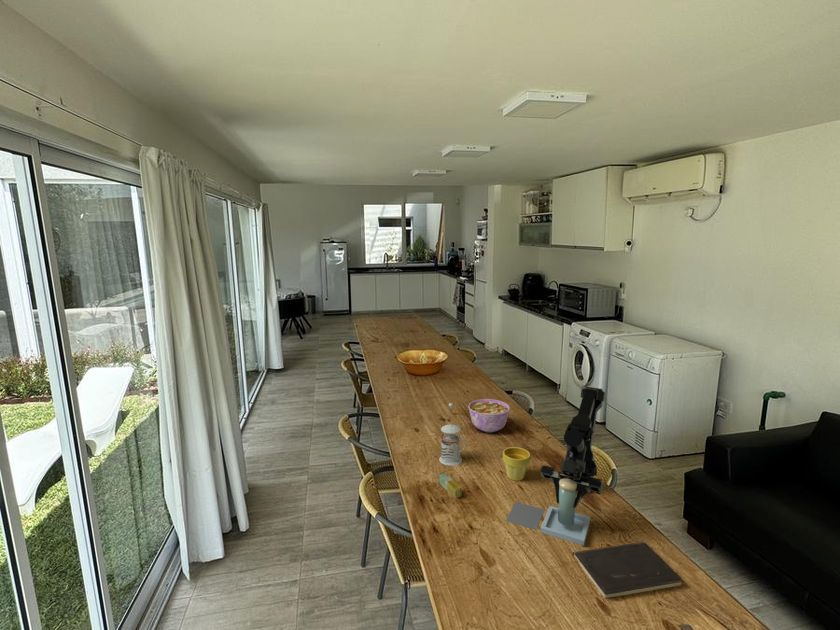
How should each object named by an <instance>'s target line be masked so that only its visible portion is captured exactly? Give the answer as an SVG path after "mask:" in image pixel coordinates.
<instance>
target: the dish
mask: <svg viewBox="0 0 840 630" xmlns="http://www.w3.org/2000/svg"><path fill="white" fill-rule="evenodd" d="M590 523H591V516H588V515H585V514H581V513H579V512H578V513H577V512H575V518H574V524H573V525H571V526H566V525H563V524H561V523H560V522H559V521H558V507H556V506H552V505H549V506H548V509H547V511H546V514H545V516H544V519H543V521H542V523H541V526H540V531H539V532H540V533H541V534H544V535H547V536H551V537H553V538H557V539H561V540H564V541H568V542H570V543H573V544H576V545H580V546H581V547H583V548H584V547H585V544H586V539H587V535H588V533H589V527H590Z"/></svg>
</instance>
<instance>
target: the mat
mask: <svg viewBox="0 0 840 630" xmlns="http://www.w3.org/2000/svg"><path fill="white" fill-rule="evenodd" d="M544 511H545V509H544V508H540V507H536V506H532V505H531V504H527V503H523V502H519V501H515V503H514V505H513V506H512V507H511V510H510V512H509V513H508V515H507V517H506V519H505V521H506V522H509V523H511V524H514V525H518V526H522V527H525V528H528V529H531V530H533V531H534V530H535V531H537V529H538V528H539V527H538V526H539V524H540V522H541V519H542V516H543V514H544Z"/></svg>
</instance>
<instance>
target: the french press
mask: <svg viewBox="0 0 840 630" xmlns="http://www.w3.org/2000/svg"><path fill="white" fill-rule="evenodd" d="M448 407H450V408H453V407H454V404H453V403H451V402H450V403H448ZM440 431H441V432H442V433H444V436H442V440H441V456H439V459H438V460H439V462H440V463H441V464H443V465H445V466H451V467H452V466H458V465H460V464H461V463H462V462H463V458H462V457H461V452H462V451H464V450H465V449H466V446H467V444H464V446H463V448H462V449H461V441H460V438H461V440H462V441H463V442H467V440H466V438H465V436H464V434H462V433H460V431H461V428H460V426H458V425H456V424H452V423H449V424H446V425H443V426H442V427H441V428H440ZM458 433H459V434H458ZM457 434H458V435H457ZM461 435H462V436H461ZM463 438H464V439H463Z"/></svg>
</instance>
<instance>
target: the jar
mask: <svg viewBox="0 0 840 630" xmlns="http://www.w3.org/2000/svg"><path fill="white" fill-rule="evenodd" d="M576 488H577V483H576V482H575V481H574V480H571V479H566V478H565V479H561V480H560V481H559V503H558V507H557V508H558V521H559V522H560V523H561V524H563V525H566V526H571V525H573V524H574V518H575V513H576V508H574V503H575V499H576V496H577V490H576Z"/></svg>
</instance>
